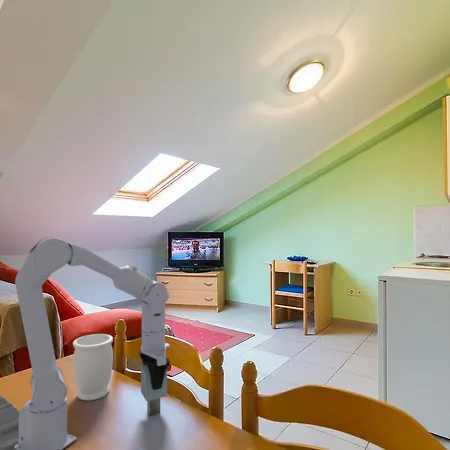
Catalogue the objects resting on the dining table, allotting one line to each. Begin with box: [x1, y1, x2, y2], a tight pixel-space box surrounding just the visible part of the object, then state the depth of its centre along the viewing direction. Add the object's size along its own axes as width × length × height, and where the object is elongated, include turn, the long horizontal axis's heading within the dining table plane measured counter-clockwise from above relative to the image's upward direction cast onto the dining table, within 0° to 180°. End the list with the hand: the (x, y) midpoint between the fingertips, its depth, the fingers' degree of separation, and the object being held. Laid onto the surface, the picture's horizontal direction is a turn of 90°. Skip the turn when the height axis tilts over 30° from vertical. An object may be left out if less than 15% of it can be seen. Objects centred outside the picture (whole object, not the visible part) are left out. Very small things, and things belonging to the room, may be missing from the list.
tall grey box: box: [140, 364, 168, 402], centre depth 83 cm, size 5×5×7 cm
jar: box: [72, 333, 114, 401], centre depth 92 cm, size 11×10×15 cm
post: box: [146, 398, 161, 417], centre depth 83 cm, size 3×3×5 cm
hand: (153, 383), depth 83 cm, fingers closed on tall grey box, 5 cm apart
